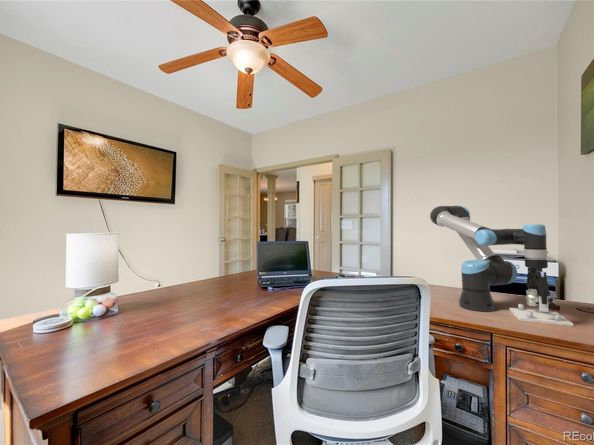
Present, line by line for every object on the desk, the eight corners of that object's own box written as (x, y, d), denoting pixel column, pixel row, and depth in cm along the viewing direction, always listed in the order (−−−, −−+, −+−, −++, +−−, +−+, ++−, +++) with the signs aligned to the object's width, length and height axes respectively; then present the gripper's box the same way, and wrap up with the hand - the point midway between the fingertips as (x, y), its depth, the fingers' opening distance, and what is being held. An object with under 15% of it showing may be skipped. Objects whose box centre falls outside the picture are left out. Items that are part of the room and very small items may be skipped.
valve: (521, 303, 123) (537, 311, 111) (520, 289, 123) (537, 296, 112) (537, 304, 121) (556, 312, 110) (537, 290, 122) (555, 296, 110)
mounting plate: (519, 320, 113) (519, 312, 113) (509, 309, 127) (509, 302, 127) (573, 326, 105) (573, 317, 105) (556, 314, 119) (555, 306, 119)
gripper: (559, 262, 104) (562, 316, 103) (536, 256, 126) (538, 300, 125) (534, 261, 107) (537, 314, 107) (516, 255, 129) (519, 299, 129)
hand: (538, 307), depth 116 cm, fingers closed on valve, 12 cm apart
